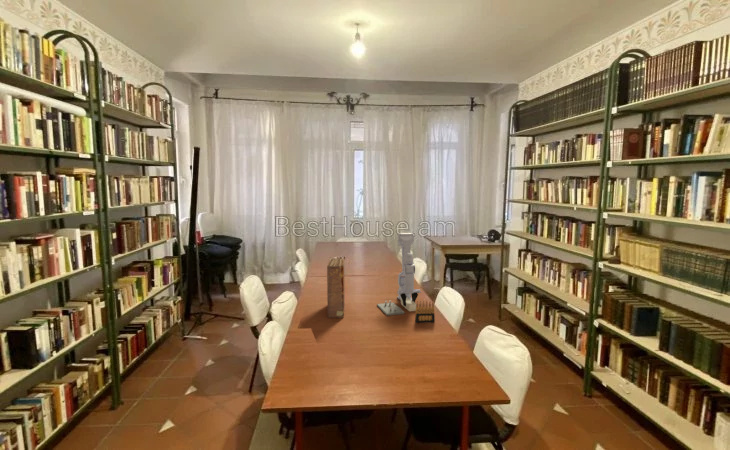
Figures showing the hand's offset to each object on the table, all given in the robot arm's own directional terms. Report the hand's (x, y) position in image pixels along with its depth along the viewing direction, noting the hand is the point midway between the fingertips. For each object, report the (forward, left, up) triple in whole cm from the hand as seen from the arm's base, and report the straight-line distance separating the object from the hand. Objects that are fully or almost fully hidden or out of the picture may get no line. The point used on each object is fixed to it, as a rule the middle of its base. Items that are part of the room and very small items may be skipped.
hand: (408, 305), depth 234 cm
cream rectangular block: (0, 0, -2) cm, 2 cm away
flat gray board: (+1, -12, -1) cm, 13 cm away
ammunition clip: (+25, -1, -2) cm, 25 cm away
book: (-7, -44, -2) cm, 45 cm away
